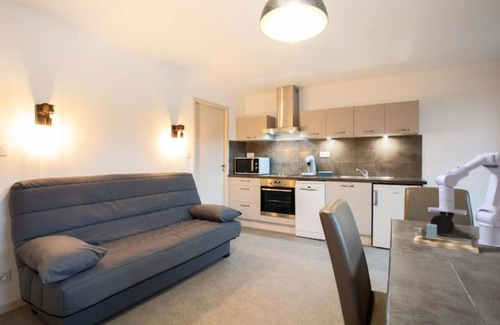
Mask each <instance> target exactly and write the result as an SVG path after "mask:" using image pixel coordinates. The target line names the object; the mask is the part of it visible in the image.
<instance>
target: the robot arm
mask: <svg viewBox="0 0 500 325" xmlns="http://www.w3.org/2000/svg"><path fill="white" fill-rule="evenodd" d="M480 167H483V168H484V169H486V170H488V171H489V172H490V177H489V181H488V187H487V190H486V194H485V200H484V203H483V204H482V205H480V206H478V209H477V211H476V212H475V213H474V219H475V221H476V222H477V225H478V227H479V230H478V232H479V233H478V234H479V239H477V242H478V245H480V246H486V247H495V248H500V151H497V152H494V151H493V152H480V153H479V154H477V155H476V156H475V158H473V159H471V160H470V161H469V162H467V163H466V164H464V165H455V166H453V169H451V170H449V171H446V172H445V174H443V173H442V174H439V175H438V176H437V177H436V179H435V184H436V185H437V189H438V204H439V205H438V206H439V207H432V206H431V207H430V206H429V207H428V208H427V212H429V213H431V212H433V213H439V214H440V216H441V218H442V220H443V222H444V225H445V229H449V225H450V222H451V220H452V221H453V217H454V216H455V215H464V216H467V215H468V211H467V209H459V208H455V187H457V185H458V183H459V182H460V181H461V180H463V179H464V178H466V177H468V176H469V175H470V172H471V171H474V170H475V169H477V168H480ZM446 216H447V222H446Z"/></svg>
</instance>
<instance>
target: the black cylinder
mask: <svg viewBox="0 0 500 325" xmlns="http://www.w3.org/2000/svg"><path fill="white" fill-rule="evenodd" d="M446 222H447V215H446ZM430 224H434V225H437V233H443V234H452V232H454V229H455V223H454V221H453V219H452V220H451V222H450V225H449V229H445V225H444V222H443V220H442V218H441V216H440V213H439V214H438V213H437V214H435V215H433V216H432V217H431V218H430Z"/></svg>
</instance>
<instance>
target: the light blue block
mask: <svg viewBox="0 0 500 325" xmlns="http://www.w3.org/2000/svg"><path fill="white" fill-rule="evenodd" d="M426 231H427V233H426V237H429V238H436V239H437V238H438V235H437V225H434V224H431V223H426Z"/></svg>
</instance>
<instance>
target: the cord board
mask: <svg viewBox="0 0 500 325" xmlns="http://www.w3.org/2000/svg"><path fill="white" fill-rule="evenodd" d="M413 233H414V235H415V236H414V238H413V239H412V240H413V244H415V245H416V244H417V245H423V246H428V247H436V248H441V249H448V250H454V251H460V252H468V253H473V254H480V252H479V251H480V250H479V247H478V246H479V245H478V244H477V243H476V241H477V237H476V235H475V234H471V236H464V235H457V234H452V233H450V234H443V233H437V236H442V237H450V238H459V239H466V240H471V242H466V241H457V240H451V239H444V238H438V237H437V239H436V238H429V237H427V228H422V227H417V226H414V228H413Z"/></svg>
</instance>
